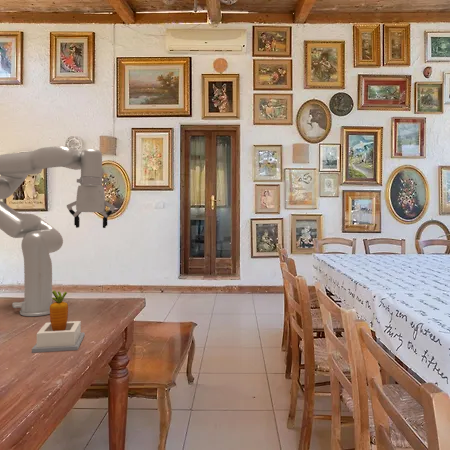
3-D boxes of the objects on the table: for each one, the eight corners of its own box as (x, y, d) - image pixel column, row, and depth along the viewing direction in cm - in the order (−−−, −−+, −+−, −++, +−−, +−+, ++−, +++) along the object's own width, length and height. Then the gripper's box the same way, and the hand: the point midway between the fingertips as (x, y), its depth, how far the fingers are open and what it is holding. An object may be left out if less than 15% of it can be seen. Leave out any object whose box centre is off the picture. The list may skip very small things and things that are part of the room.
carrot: (71, 338, 109) (71, 289, 108) (59, 343, 104) (59, 292, 103) (58, 336, 110) (58, 287, 109) (46, 341, 105) (45, 291, 105)
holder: (31, 352, 100) (31, 334, 99) (43, 337, 111) (43, 321, 111) (77, 349, 102) (77, 332, 102) (84, 335, 114) (84, 319, 114)
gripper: (64, 180, 130) (64, 227, 131) (114, 182, 134) (113, 228, 134) (69, 182, 138) (69, 226, 138) (116, 184, 141) (115, 227, 142)
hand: (91, 227), depth 136 cm, fingers open, 9 cm apart
